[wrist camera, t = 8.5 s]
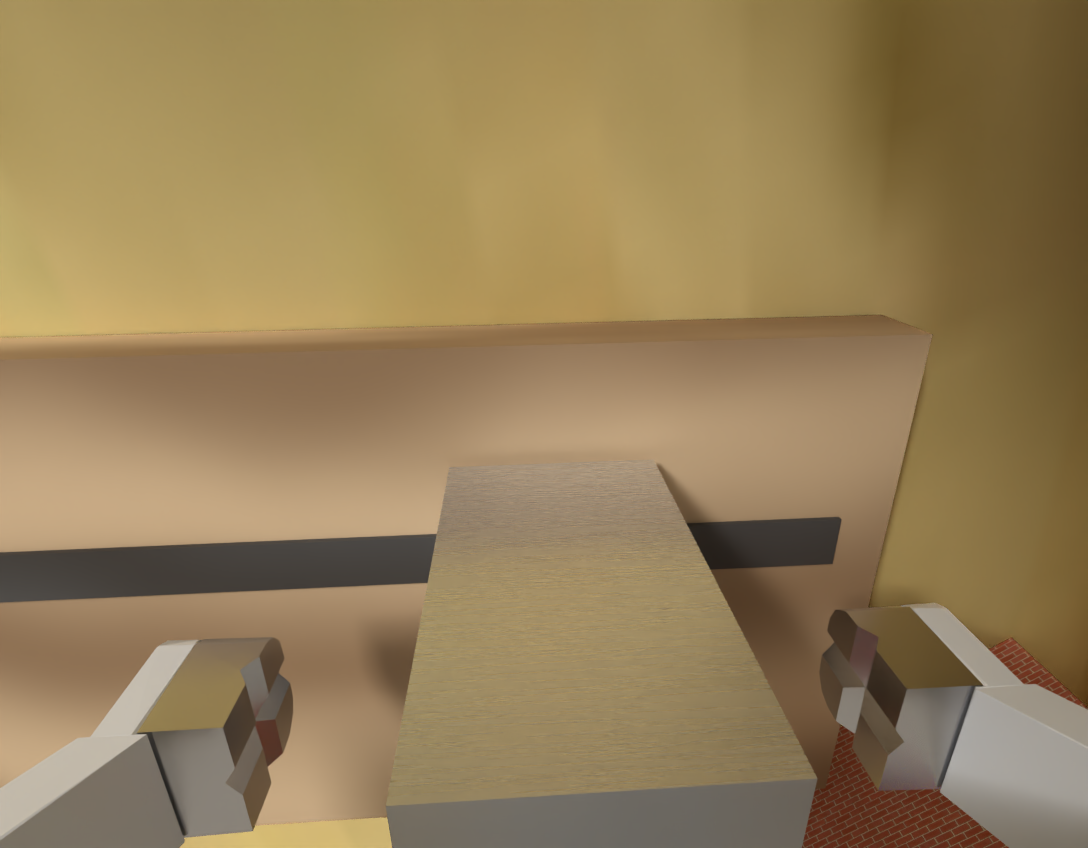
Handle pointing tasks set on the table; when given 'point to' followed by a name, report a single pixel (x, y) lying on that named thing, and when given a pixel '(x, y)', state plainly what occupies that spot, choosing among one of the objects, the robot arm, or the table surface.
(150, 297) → the table surface
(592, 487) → the block
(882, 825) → the house
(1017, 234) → the table surface
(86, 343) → the board
